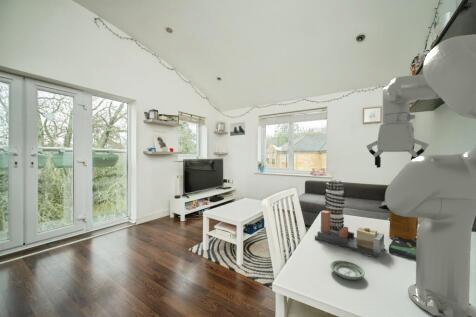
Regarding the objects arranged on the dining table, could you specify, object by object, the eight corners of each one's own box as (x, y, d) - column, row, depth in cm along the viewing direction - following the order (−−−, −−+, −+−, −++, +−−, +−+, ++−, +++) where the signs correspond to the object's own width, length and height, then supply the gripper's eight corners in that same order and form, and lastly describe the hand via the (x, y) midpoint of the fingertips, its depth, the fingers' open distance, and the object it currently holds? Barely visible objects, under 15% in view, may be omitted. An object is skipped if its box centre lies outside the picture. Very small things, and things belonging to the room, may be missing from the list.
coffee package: (421, 238, 91) (422, 190, 90) (413, 245, 84) (414, 193, 83) (395, 231, 99) (395, 187, 98) (385, 237, 92) (385, 189, 91)
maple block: (374, 249, 77) (374, 232, 77) (356, 244, 81) (356, 228, 81) (377, 245, 80) (377, 228, 80) (360, 241, 85) (360, 225, 84)
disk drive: (393, 242, 89) (388, 253, 78) (393, 235, 88) (388, 246, 78) (426, 249, 81) (424, 263, 71) (426, 242, 81) (424, 255, 71)
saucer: (334, 263, 71) (334, 256, 71) (367, 273, 64) (367, 266, 64) (326, 276, 63) (326, 268, 63) (361, 289, 57) (362, 281, 57)
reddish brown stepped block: (342, 241, 84) (342, 217, 84) (319, 234, 91) (319, 212, 91) (348, 236, 89) (348, 213, 89) (325, 230, 96) (325, 209, 96)
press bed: (378, 258, 73) (378, 241, 73) (314, 238, 90) (314, 224, 90) (384, 248, 81) (384, 232, 81) (324, 232, 98) (324, 219, 98)
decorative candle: (348, 233, 96) (349, 181, 96) (329, 233, 96) (329, 182, 96) (339, 226, 105) (339, 179, 105) (321, 226, 105) (321, 179, 105)
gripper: (429, 118, 67) (428, 168, 68) (369, 123, 80) (369, 166, 80) (428, 115, 62) (427, 170, 63) (364, 121, 75) (364, 167, 75)
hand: (394, 168), depth 71 cm, fingers open, 9 cm apart
